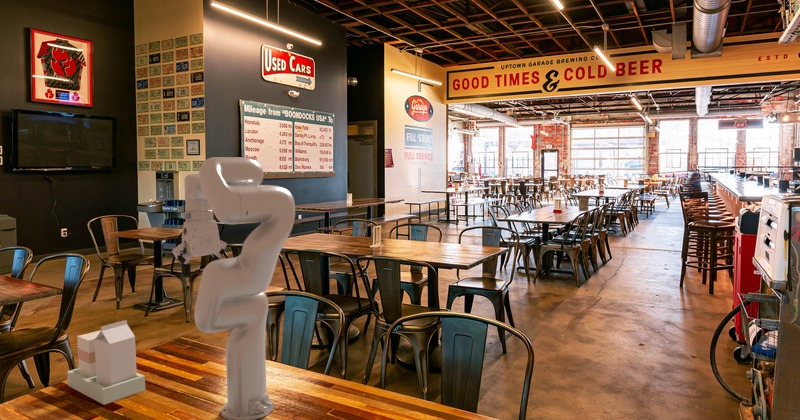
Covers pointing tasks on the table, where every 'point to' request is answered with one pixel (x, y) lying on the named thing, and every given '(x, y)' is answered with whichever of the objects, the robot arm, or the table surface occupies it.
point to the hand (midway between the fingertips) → (201, 274)
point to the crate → (105, 393)
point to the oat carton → (87, 354)
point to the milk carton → (115, 354)
